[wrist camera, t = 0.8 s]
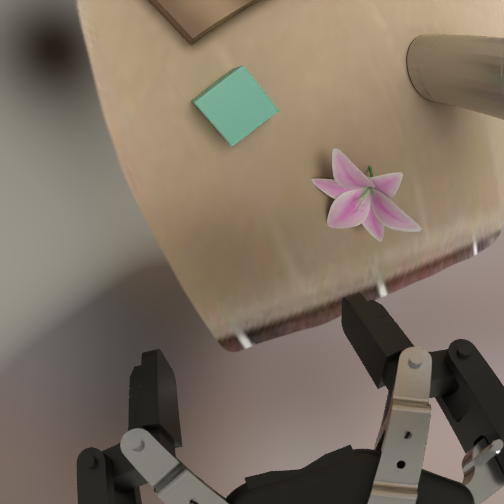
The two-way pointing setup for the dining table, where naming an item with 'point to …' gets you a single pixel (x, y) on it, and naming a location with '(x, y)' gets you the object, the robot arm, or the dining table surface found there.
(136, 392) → the robot arm
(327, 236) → the dining table surface
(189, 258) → the dining table surface
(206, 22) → the walnut base
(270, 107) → the green cube
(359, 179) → the lily
